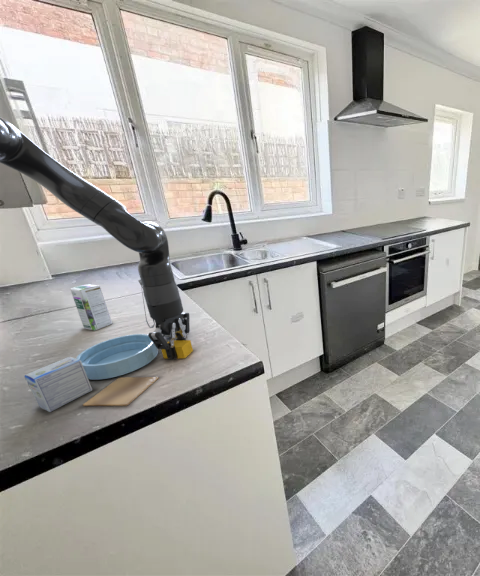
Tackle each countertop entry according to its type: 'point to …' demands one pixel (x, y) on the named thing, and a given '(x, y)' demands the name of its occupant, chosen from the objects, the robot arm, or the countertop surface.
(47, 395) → the medicine box
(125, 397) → the mat
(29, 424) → the countertop surface
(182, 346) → the sponge
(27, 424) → the countertop surface
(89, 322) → the syrup box
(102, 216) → the robot arm
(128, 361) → the basin
